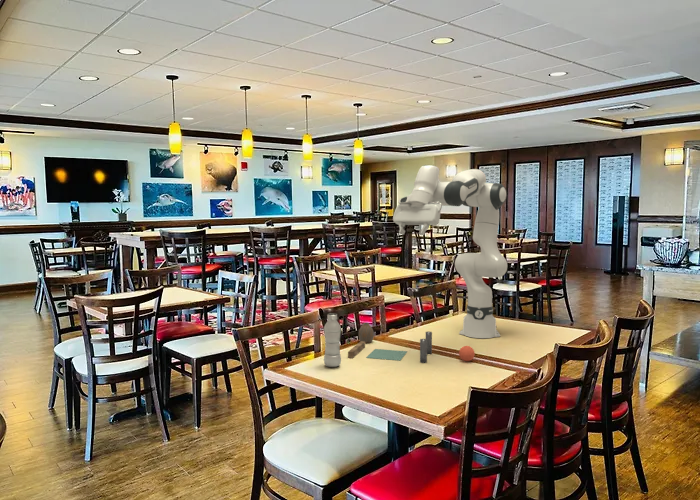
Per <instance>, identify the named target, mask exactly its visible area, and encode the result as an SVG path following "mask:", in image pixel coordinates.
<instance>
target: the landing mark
mask: <svg viewBox="0 0 700 500" xmlns="http://www.w3.org/2000/svg"><path fill="white" fill-rule="evenodd" d="M407 353H408V351H406V350H395V349H393V350H392V349H381V348H375V349H373V350H372V351H371V352H370V353H369V354H368V355H367V356H366V357H365V358H367V359H374V360H375V359H376V360H385V359H386V360H387V361H397V362H399V361H400V362H401V361H402V359H403V358H404V357H405V356H406V354H407ZM386 360H385V361H386Z"/></svg>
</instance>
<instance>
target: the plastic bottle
mask: <svg viewBox="0 0 700 500" xmlns="http://www.w3.org/2000/svg"><path fill="white" fill-rule="evenodd" d="M326 316H327V318H326V319H327V321H326V323H325V324H324V327H323V331H324V339H325V341H324V342H325V347H324V348H325V349H324V355H323V362H324V365H325V366H326V367H328V368H337V367H339V366H340V365H341V364H342V363H341V362H342V356H341V348H340V344H341V343H340V341H341V331H342V328H341V325H340V323H339V322H338V313H327V315H326Z"/></svg>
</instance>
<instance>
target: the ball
mask: <svg viewBox="0 0 700 500" xmlns="http://www.w3.org/2000/svg"><path fill="white" fill-rule="evenodd" d="M475 354H476V353H475V349H473V347H471V346H470V345H464V346H462V347H461V348H460V349H459V351H458V355H459V358H460V359H461V360H462V361H464V362H470V361H472V360H474V358H475V356H476V355H475Z"/></svg>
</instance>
